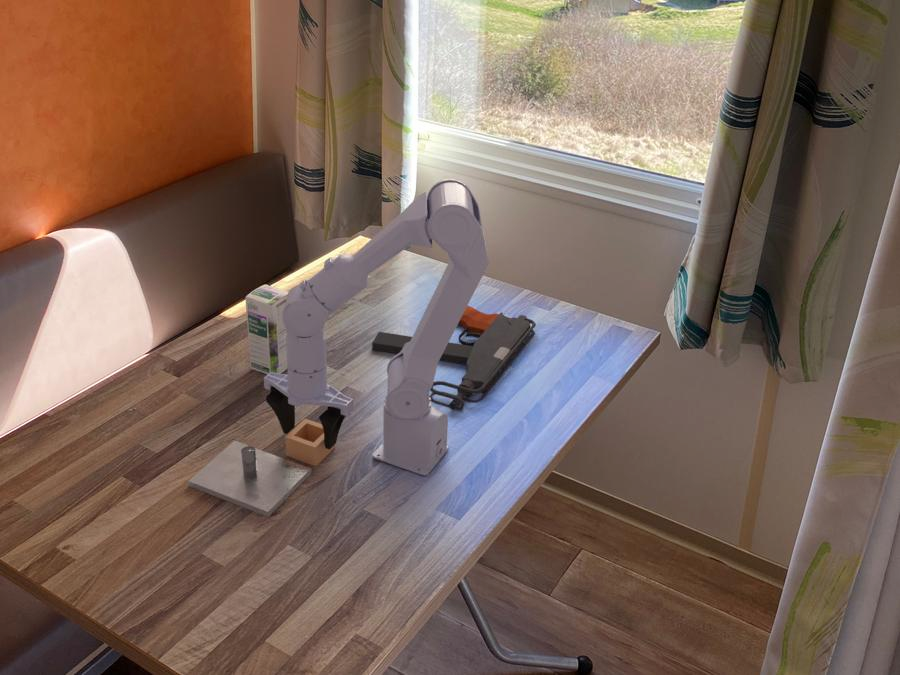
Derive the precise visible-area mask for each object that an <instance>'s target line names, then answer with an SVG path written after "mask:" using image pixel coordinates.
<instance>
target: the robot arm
mask: <svg viewBox="0 0 900 675" xmlns="http://www.w3.org/2000/svg"><path fill="white" fill-rule="evenodd" d="M480 212H481V211H480V207H479V203H478V201H477V199H476V198H475V196H474V195H473V193H472V191H471V189H470V188H469V187H468V186H467V185H466V184H465V183H464V182H462V181H461V180H458V179H455V178H445V179H442V180H440V181H438V182H436V183H435V184H433V185H432V187H431V188H430V189H429V192H428V193H427V191H424V192H423V193H421V194H419V195H418V196H417V197H416V198H415V199H414V200H413V201H412V202H411V203H409V205H407V207H405V209H404V210H403V211H402V212H400V214H398V215H397V216H396V217H395V218H394V219H392V221H390V222H389V223H388V224H387V225H386V226H385V227H384V228H382V229H381V230H380V231H379V232H378V233H377V234H376V235H374V236H373V237H372V238H371V239H370V240H369V241H368V242H367V243H366V244H365V245H363V246H362V247H361V248H360V249H359V250H358V251H356V252H355V253H354V254H349V253H348V254H347V253H341V254H339V255H338V256H336V258H333V257H331V256H330V257H328V258H327V259H326V260H325V261H324V262H323V264H324V265H323V267H322V268H321V270H319V271H318V272H317V273H315V274H314V275H313V276H311V278H309V279H308V280H307V279H303V280H302V281H301V282H300V283H299V284H297V285H295V286H293V287H291V289H290V290H289V292H288V291H287V292H288V294H287V297H286V302H285V307H284V311H283V323H284V326H285V328H286V332H287V335H286V352H287V369H286V371H287V374H284V373H281V374H278V373H274V372H270V373H269V374H268V375H267V374H266V376H264V377H263V388H264V389H265V390H268V391H269V394H267V395H266V397H265V401H266V404H268V405H269V406H270V408H271V410H272V411H273V413H274V414H275V416H276V418H277V420H278V422H279V424H280V428H281V430H282V433H283V434H285V435H288V434H289V433H290V432H291V431H292V430H293V429H294V428H295V427H296V413H295V412H296V411H295V410H296V409H295V408H296V407H298V408H299V407H300V406H302V405H309V406H310V405H311V406H319V407H320V406H321V407H326V408H327V409H326V410H324V411H323V412H322V413H321V414H320V415H319V416H318V419H319V421H320V424H322V426H323V430H324V444H325V448H326V449H331V448H332V447H333V446H334V445H335V446H336V444H337V441H338V438H339V437H338V436H339V433H340V429H341V427H342V425H343V422H344V420H345V418H346V417H347V416H348V415H350V413H352V411H353V410H354V399H353V398H351V397H349V396H346V394H344V393H342V392H340V391H339V390H337V389H336V388H335V387H333V386H332V385H330V384H329V383H328V363H327V335H326V333H325V324H326V319H327V317H328V316H330V315H332V314H334V313H336V311H337V310H339V309H340V308H341V307H343V306H344V305H345V304H347V303H348V302H349V301H351V299H353V298H354V297H355V296H357V295H358V294H360V292H362V291H363V290H364V289H366V288H367V286H368V282H369V280H368V278H369V274H371V273H373V272H374V271H376V270H377V269H378V268H380V267H381V266H382V265H384V264H386V263H387V262H388V261H389V260H392V259H393V258H394V257H395V256H397V255H398V254H400V253H401V252H402V251H404V250H405V249H407V248H409V246H413V245H414V246H419V247H424V248H428V249H432V248H433V242H434V243H435V244H436V245H437V246H438V247H440V248H441V249H442V250H443V251H444V252H445V253H447V256H448V257H449V261H448V263H447V266H446V267H445V270H444V271H443V274H442V275H441V278H440V280H439V282H438V284H437V285H436V288H435V289H434V291H433V294H432V296H431V298H430V300H429V302H428V304H427V305H426V308H425V310H424V312H423V314H422V317H421V319H420V320H419V323H418V324H417V327H416V329H415V331H414V333H413V334H412V336H411V337H412V339H411V341H410V342H408V343H405V345H404V347H403V349H402V350H401V352H400V353H398V354H397V353H396V355H394V356H393V357H391V359H390V360H389V362H388V363H387V368H386V373H387V392H386V396H385V397H384V399H383V417H382V418H383V423H382V424H383V430H382V431H383V437H382V438H383V442H382V443H381V444H380V445H379V447H378V448H376V450H375V451H374V452H373V453H372V458H373V459H375V460H377V461H381V462H384V463H386V464H389V465H392V466H396V467H398V468H400V469H401V468H402V469H405V470H407V471H409V472H413V473H416V474H418V475H421V476H428V475H429V474H430V472H431V471H433V469H434V467H435V466H436V465H437V464H438V462H440V460H441V459H442V458H443V457H444V455H445V454H446V453H447V451H448V450H449V449H450V448H449V445H448V428H449V427H448V425H449V421H448V420H449V419H448V415H447V414H446V413H445V412H442V411H440V410H439V409H437V408H436V407H435V406H434V405H433V404H432V401H431V398H430V397H429V396H430V392H431V391H430V389H431V388H432V386H433V382H435V376H436V373H437V367H438V364H439V362H440V361H441V360H440V358H441V356H442V354H443V352H444V350H445V348H446V346H447V344H448V342H449V343H450V340H451V338H452V336H453V334H454V333H455V331H456V328H457V326H458V325H459V324H458V323H459V321H460V319H461V317H462V315H463V313H464V311H465V309H466V307H467V306H469V303H470V301H471V300H472V297H473V296H474V293H475V292H476V290H477V289H478V288H477V287H478V286H479V284H480V282H481V280H482V278H483V276H484V274H485V273H486V270H487V269H488V265H489V263H490V262H489V254H488V248H487V244H486V243H487V242H486V238H485V233H484V227H483V223H482V216H481V213H480ZM433 387H434V386H433Z"/></svg>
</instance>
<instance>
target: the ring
mask: <svg viewBox="0 0 900 675" xmlns="http://www.w3.org/2000/svg"><path fill="white" fill-rule="evenodd" d="M284 437H285V438H284V440H285V442H284V443H285V455H286V457H289V458H292V459H294V460H296V461H300V462H303V463H305V464H309V465H311V466H313V467H317V466H319V464H320V463H321V462H323V460H324V459H325V458H326V457H327V456H328V455H329V454H330V453H331V452H332V451H333V450H334V449H336V444H335V445H334V446H333V447H332V448H331V449H326V448H325V444H324V430H323V426H322V423H321V422H317V421H313V420H310V419H307V418H304V419H303V420H302V421H301V422H299V424H297V425H295V426H294V428H293V429H292V430H291V431H290V432H289V433H288V434H286V435H285V436H284Z"/></svg>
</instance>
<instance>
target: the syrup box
mask: <svg viewBox="0 0 900 675" xmlns="http://www.w3.org/2000/svg"><path fill="white" fill-rule="evenodd" d="M289 291H290V290H289ZM289 291H286V290H283V289H281V288H278V287H275V286H272V285H271V286H270V285H269V284H263V285H260V286H259V287H257V288H255V289H253V290H252V291H251V292H250V293H248V294H247V295H246V296H245V308H246V309H245V310H246V322H247V335H248V336H247V337H248V351H249V353H248V354H249V368H250V370H254V371H256V372H260V373H262V374H265V375H266V376H267V375H268V374H269V373H270V372H274V373H278V374H283V373H284V372H285V371H287V352H286V335H287V332H286V328H285V326H284V323H283V311H284V307H285V302H286V297H287V294H288V292H289Z"/></svg>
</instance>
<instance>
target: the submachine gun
mask: <svg viewBox="0 0 900 675" xmlns="http://www.w3.org/2000/svg"><path fill="white" fill-rule="evenodd" d="M531 324H532V325H531ZM458 325H460V326H462V327H463V328H464V330H463V331H462V332H460V334H459V335H458V342H459V343H454V342H450V341H449V342H448V344H447V346H446V348H445V350H444V352H443V354H442V356H441V358H440V360H439V361H442V362H443V361H444V362H449V363H456V364H462V365H466V370H465V371H466V372H465V374H464V375H462V377H461V382H460V383H459V385H458V384H455V383H451V382H447V381H442V380H437V381H434V382H433V386H432V388H431V389H430V392H431V393H430V394H429V397H430V398H431V403H434V404H436V405H441V406H443V407H446V408H450V409H451V410H456V411H463V410H464V408H465V402H467V403H474V404H475V403H479V402H481V401H482V400H484V399H485V397H486V396H487V395H488V393H489V392H490V391H491V390H492V389H493V388H494V386H495V385H496V383H497V382H498V381H499V380H500V379H501V377H503V375H504V373H505V372H506V371H507V370H508V369H509V367H510V366H511V365H512V363H513V362H514V361H515V360H516V358H517V357H518V356H519V355H520V354H521V352H523V350H524V349H525V347H526V346H527V345H528V344H529V342H530V341H531V340H532V338H533V337H534V336H535V335H536V332H535V330H534V328H535V327H536V326H537V323H536V322H535V321H534V320H533V319H530V318H527V316H526V315H524V314H520V315H519V316H518V317H515V316H513V317H508V316H506V315H504V313H503V312H500V313H485V312H482V311H480V310H477V309H476V308H475V307H472V306H469V305H467V307H466V309H465V311H464V313H463V315H462V317H461V319H460V321H459V323H458ZM464 335H465V337H476V338H477V340H476V341H473V342H468V341H465V340H462V338H463V337H464ZM412 337H413V336H410V335H403V334H397V333H390V332H383V331H378V332H377V334H376V336H375V337H374V339H373V340H372V342H371V343H372V344H371V346H372V347H371V348H372V350H373V351H378V352H379V351H380V352H386V353H393V354H396V355H397V354H398V353H400V352H401V350H402V349H403V347H404V345H405V343H408V342H410V341H411V339H412ZM435 386H444V387H448V388H451V389H455V390H457V394H453V393H449V392H445V391H440V390H437V389H435V388H434V387H435ZM479 393H482V395H481V396H480V397H479V398H477V399H470V398H471V397H472V396H473V394H479ZM434 395H437V396H440V397H444V398H448V399H451V401H450V402H449V404H448V403H445V402H441V401H439V400H436V399H434V398H433V397H434ZM459 405H460V406H459Z"/></svg>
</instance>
